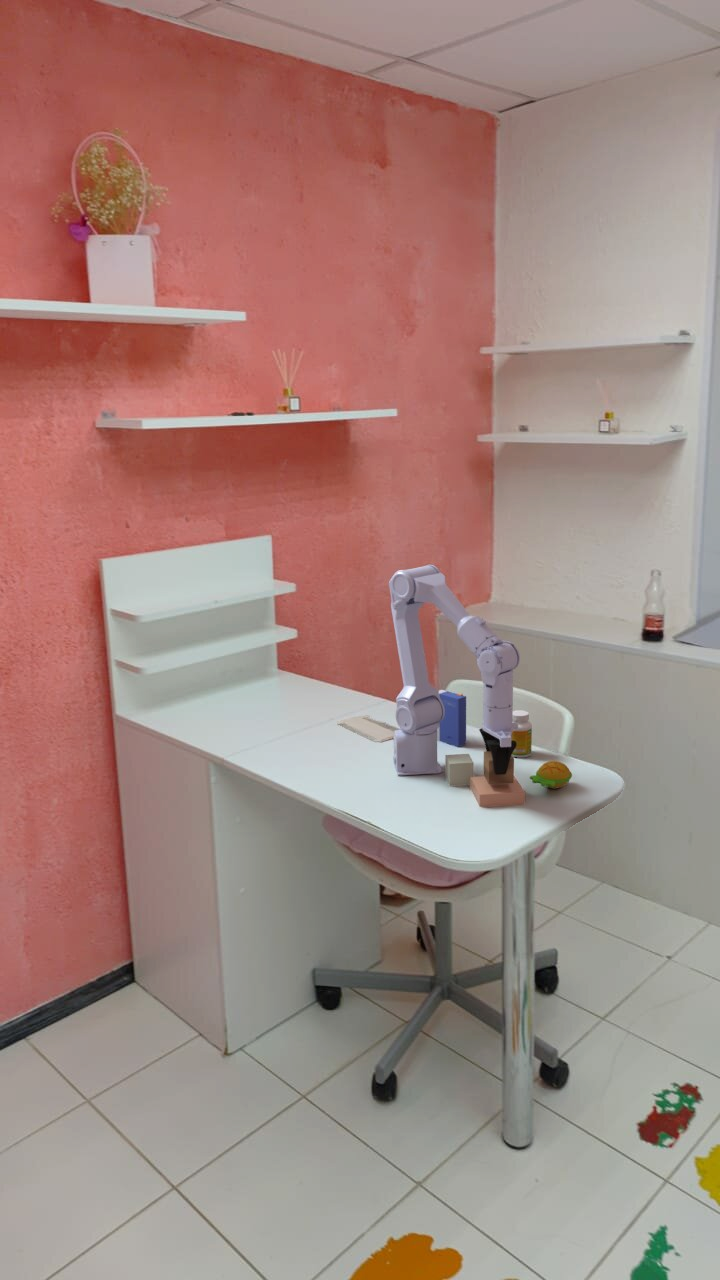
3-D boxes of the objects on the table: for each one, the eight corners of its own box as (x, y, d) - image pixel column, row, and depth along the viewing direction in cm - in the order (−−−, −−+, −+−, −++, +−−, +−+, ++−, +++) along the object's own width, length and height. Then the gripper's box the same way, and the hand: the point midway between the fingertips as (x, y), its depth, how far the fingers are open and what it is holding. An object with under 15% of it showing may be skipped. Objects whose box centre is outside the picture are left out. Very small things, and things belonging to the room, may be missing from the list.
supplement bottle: (530, 759, 213) (531, 717, 210) (506, 757, 214) (506, 716, 211) (531, 750, 218) (532, 709, 215) (507, 749, 219) (508, 708, 217)
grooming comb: (411, 734, 230) (411, 731, 230) (377, 745, 225) (377, 741, 225) (366, 716, 245) (366, 713, 245) (333, 725, 239) (333, 722, 239)
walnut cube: (488, 784, 190) (489, 760, 189) (483, 774, 195) (483, 751, 194) (513, 782, 191) (514, 759, 190) (507, 773, 196) (508, 750, 194)
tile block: (479, 808, 189) (479, 794, 189) (470, 790, 198) (470, 777, 197) (524, 806, 190) (524, 791, 189) (513, 787, 199) (513, 774, 198)
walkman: (466, 744, 223) (466, 694, 220) (458, 747, 221) (458, 697, 218) (440, 736, 228) (440, 687, 225) (433, 739, 227) (432, 690, 224)
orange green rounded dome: (578, 785, 198) (579, 760, 197) (552, 800, 191) (553, 775, 190) (549, 776, 203) (550, 753, 202) (522, 791, 196) (523, 767, 194)
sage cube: (449, 786, 200) (449, 763, 198) (445, 777, 204) (445, 754, 203) (473, 785, 200) (473, 762, 199) (468, 775, 205) (468, 753, 204)
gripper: (527, 714, 182) (526, 781, 186) (509, 691, 196) (508, 754, 200) (490, 716, 182) (490, 783, 185) (475, 693, 196) (475, 756, 199)
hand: (497, 768), depth 192 cm, fingers closed on walnut cube, 5 cm apart
